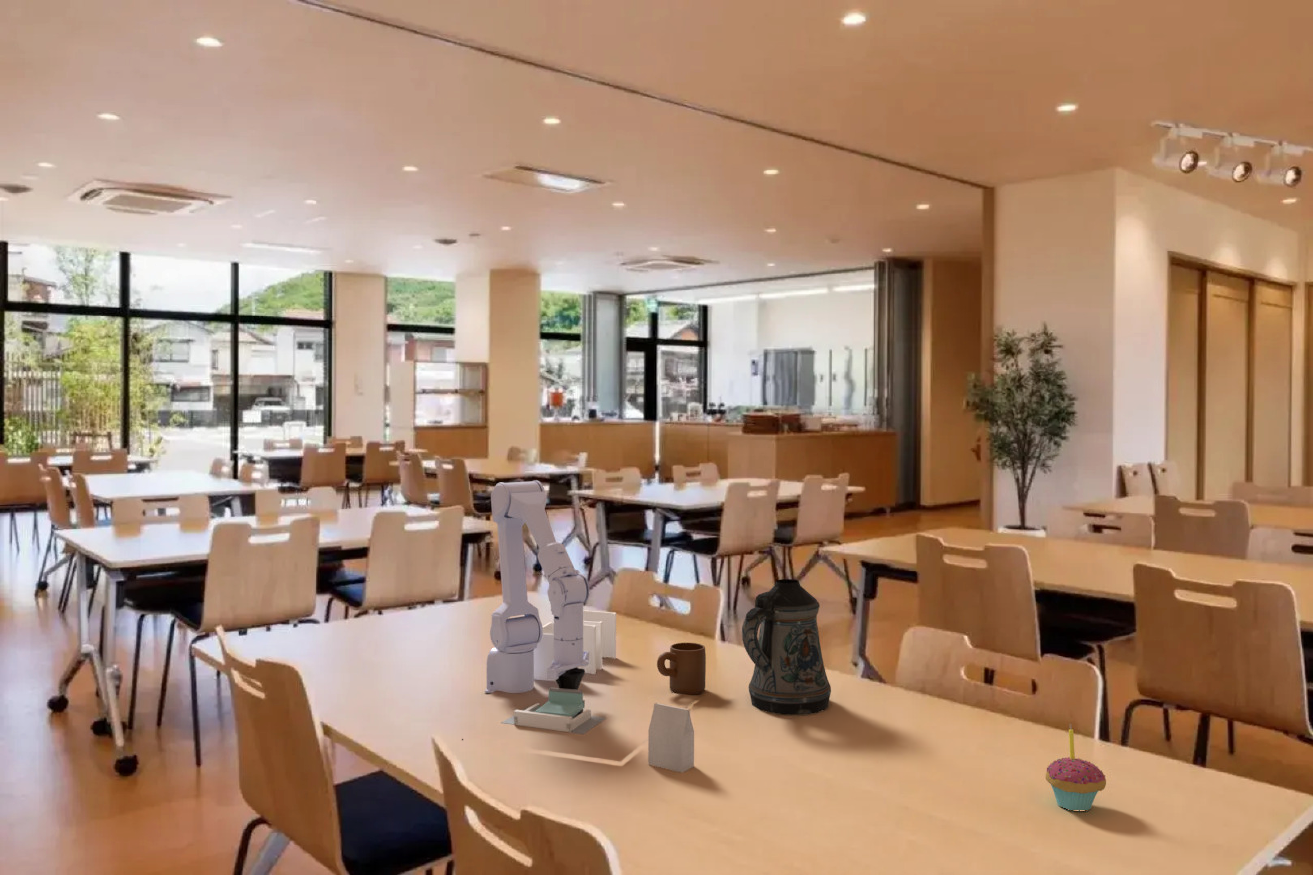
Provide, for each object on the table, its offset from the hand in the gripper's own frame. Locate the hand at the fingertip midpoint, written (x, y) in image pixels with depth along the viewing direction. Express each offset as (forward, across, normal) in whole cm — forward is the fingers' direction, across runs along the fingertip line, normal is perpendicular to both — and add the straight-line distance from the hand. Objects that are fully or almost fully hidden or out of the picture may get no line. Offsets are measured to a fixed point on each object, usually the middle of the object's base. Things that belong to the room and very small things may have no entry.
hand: (568, 706), depth 198 cm
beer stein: (+2, +22, -38) cm, 44 cm away
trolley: (+1, -4, 0) cm, 5 cm away
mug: (+2, +22, -15) cm, 27 cm away
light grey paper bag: (+2, -18, -28) cm, 33 cm away
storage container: (+2, +30, +13) cm, 33 cm away
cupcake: (+2, -11, -91) cm, 92 cm away
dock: (+2, -6, 0) cm, 6 cm away
